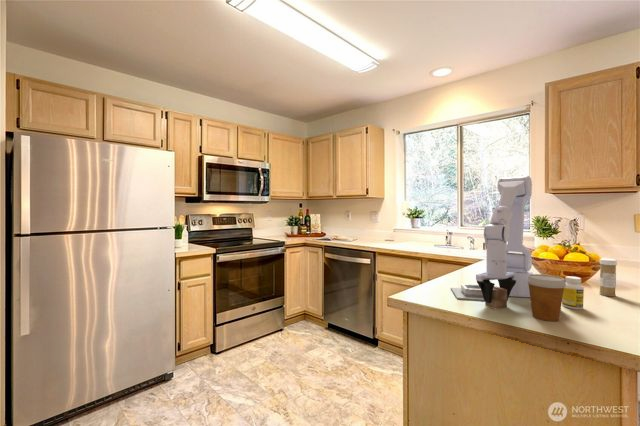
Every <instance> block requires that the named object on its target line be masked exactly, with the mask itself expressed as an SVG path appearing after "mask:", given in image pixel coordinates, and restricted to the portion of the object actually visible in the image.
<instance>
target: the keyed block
mask: <svg viewBox="0 0 640 426" xmlns="http://www.w3.org/2000/svg"><path fill="white" fill-rule="evenodd" d="M484 302H485V301H484ZM484 305H485V306H486V307H487V306H488V307H489V306H490V308H492V309H496V310H498V309H499V310H500V309H508V301H507V289H503V288H500V286H496V285H494V287H493V291H492V300H491V303H487V302H485V304H484Z"/></svg>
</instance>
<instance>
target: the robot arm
mask: <svg viewBox="0 0 640 426" xmlns="http://www.w3.org/2000/svg"><path fill="white" fill-rule="evenodd" d="M532 183H533V182H532V178H531V176H530V175H523V176H508V177H503V176H501V177H499V179H498V180H497V191H498V193H499V195H500V197H499V198H500V200H499V203H498V206H497V207H494V209H493V211H492V215H491V218H490V221H489V224H487V225H485V226H484V229H483V239H484V246H485V247H486V270H485V271H486V272H482V273H478V274H475V281H476V283H477V285H479V287H480V289H481V291H482V294H483V298H484V301H483V302H487V303H491V300H492V291H493V287H494V286H496V285H495V284H496V283H495V282H492V281H496V280H497V282H498V285H499V286H498V287H500V288H503V289H507V302H508V301H509V298H510V297H517V298H518V297H519V298H530V292H529V285H528V282H527V279H528V275H531V274H534V273H533V272H532V271H530V270H531V269H532V266H533V259H532V252H531V251H532V250H531V249H529V248H528V247H526V246H525V245H524V244H523V243H524V241H523V240H524V225H525V206H526V203H527V202H526V201H528V200H530V199H531V198H532V190H533V184H532Z"/></svg>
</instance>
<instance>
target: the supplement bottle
mask: <svg viewBox="0 0 640 426" xmlns="http://www.w3.org/2000/svg"><path fill="white" fill-rule="evenodd" d="M564 281H565V283H566V286H565V287H564V292H563V297H562V304H561V306H563V307H564V308H567V309H573V310H583V309H584V299H585V298H584V296H585V295H584V292H585V287H584V286H583V285H582V284H581V283H582V278H581V277H580V276H579V277H578V276H573V275H572V276H569V275H568V276H567V275H566V276H565V278H564Z"/></svg>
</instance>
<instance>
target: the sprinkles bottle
mask: <svg viewBox="0 0 640 426" xmlns="http://www.w3.org/2000/svg"><path fill="white" fill-rule="evenodd" d="M617 261H618V260H616V259H613V258H603V257H602V258H599V264H600V266H599V267H600V271H599V272H600V273H599V293H598V294H599V295H601V296H605V297H616V285H617V264H618V262H617Z"/></svg>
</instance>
